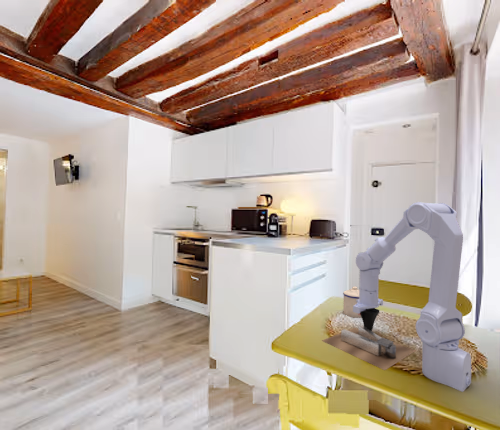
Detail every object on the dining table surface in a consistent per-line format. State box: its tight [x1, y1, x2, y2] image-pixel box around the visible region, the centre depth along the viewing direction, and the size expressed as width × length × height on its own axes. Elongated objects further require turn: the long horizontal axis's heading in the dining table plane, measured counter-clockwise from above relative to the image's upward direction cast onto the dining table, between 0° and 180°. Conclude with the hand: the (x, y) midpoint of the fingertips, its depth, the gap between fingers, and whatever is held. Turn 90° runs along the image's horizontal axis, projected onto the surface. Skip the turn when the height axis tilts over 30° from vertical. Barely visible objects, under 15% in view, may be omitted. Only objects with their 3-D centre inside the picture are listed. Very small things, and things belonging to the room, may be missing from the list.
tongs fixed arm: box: [340, 328, 394, 356], centre depth 80 cm, size 14×3×4 cm, turn 36°
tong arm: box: [358, 324, 396, 359], centre depth 81 cm, size 15×3×3 cm, turn 11°
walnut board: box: [321, 327, 417, 371], centre depth 82 cm, size 20×18×1 cm
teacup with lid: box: [342, 285, 362, 319], centre depth 111 cm, size 12×9×12 cm
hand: (368, 330), depth 88 cm, fingers closed
